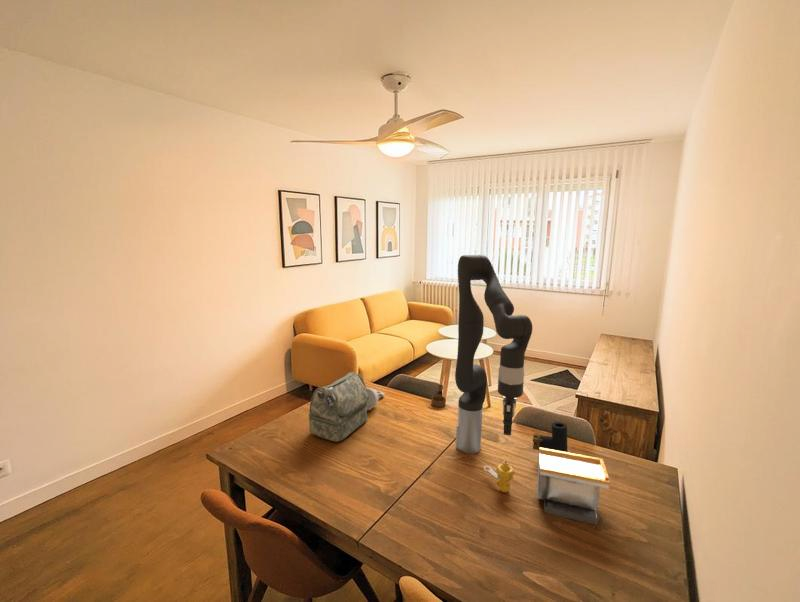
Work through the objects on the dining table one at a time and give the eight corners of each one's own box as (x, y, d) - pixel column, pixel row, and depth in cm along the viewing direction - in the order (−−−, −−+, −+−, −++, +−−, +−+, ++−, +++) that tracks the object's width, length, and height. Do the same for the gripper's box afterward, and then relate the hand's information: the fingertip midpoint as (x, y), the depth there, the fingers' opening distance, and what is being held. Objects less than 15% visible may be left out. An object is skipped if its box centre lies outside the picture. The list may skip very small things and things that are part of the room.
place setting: (416, 406, 181) (416, 395, 180) (438, 394, 196) (439, 383, 195) (446, 417, 170) (446, 405, 169) (467, 403, 185) (468, 392, 184)
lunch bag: (338, 447, 143) (337, 394, 140) (302, 435, 152) (301, 385, 148) (373, 419, 166) (373, 373, 163) (341, 410, 174) (340, 366, 171)
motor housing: (537, 511, 110) (540, 466, 108) (536, 486, 121) (539, 445, 119) (604, 526, 104) (609, 480, 102) (597, 499, 115) (602, 457, 113)
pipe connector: (533, 464, 134) (532, 425, 133) (534, 456, 139) (533, 419, 137) (567, 469, 129) (566, 429, 128) (567, 461, 134) (566, 422, 133)
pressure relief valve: (503, 498, 115) (504, 468, 114) (478, 476, 126) (479, 449, 124) (516, 492, 118) (517, 464, 116) (490, 472, 128) (492, 445, 127)
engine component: (354, 409, 173) (355, 387, 174) (365, 401, 193) (366, 382, 194) (376, 411, 171) (377, 389, 172) (385, 403, 191) (386, 383, 192)
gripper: (500, 370, 121) (497, 416, 123) (496, 385, 108) (493, 436, 110) (524, 372, 118) (521, 420, 121) (523, 389, 105) (519, 441, 108)
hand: (508, 428), depth 115 cm, fingers open, 8 cm apart
